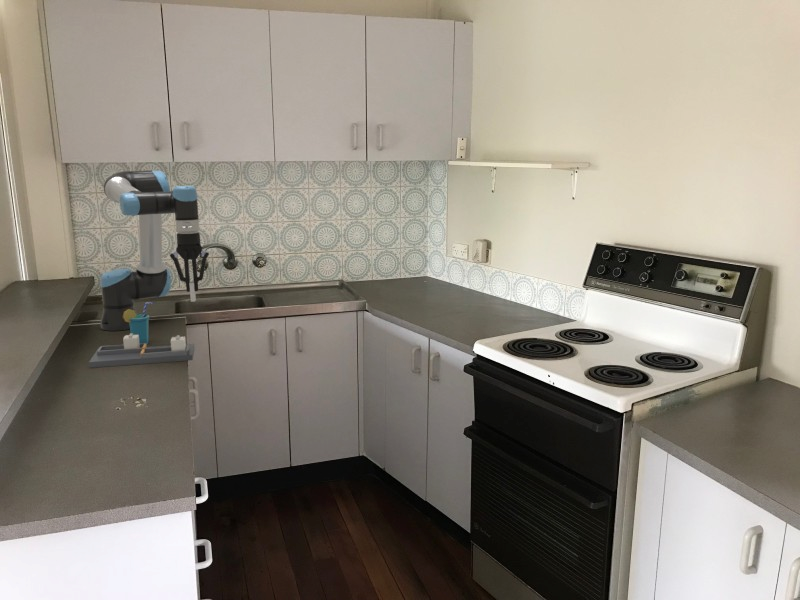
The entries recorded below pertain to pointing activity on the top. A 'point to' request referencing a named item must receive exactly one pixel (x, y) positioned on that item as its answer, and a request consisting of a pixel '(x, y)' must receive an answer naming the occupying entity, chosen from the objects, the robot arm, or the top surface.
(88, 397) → the top surface
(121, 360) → the switch bank
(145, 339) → the cup
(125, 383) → the top surface
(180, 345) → the tab
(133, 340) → the tab
